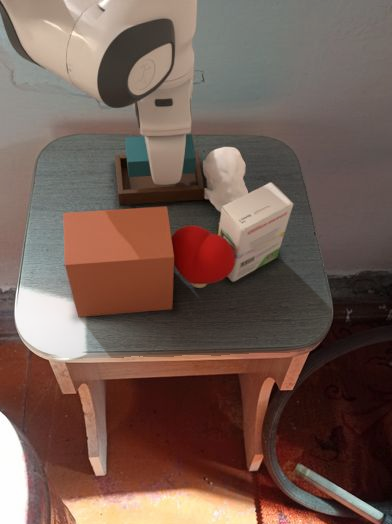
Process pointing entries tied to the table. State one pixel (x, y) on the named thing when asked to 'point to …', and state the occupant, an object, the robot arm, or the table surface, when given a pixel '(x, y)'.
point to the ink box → (255, 228)
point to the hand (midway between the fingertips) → (159, 160)
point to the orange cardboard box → (119, 260)
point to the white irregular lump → (224, 176)
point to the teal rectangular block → (140, 160)
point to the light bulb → (201, 255)
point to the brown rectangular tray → (156, 186)
